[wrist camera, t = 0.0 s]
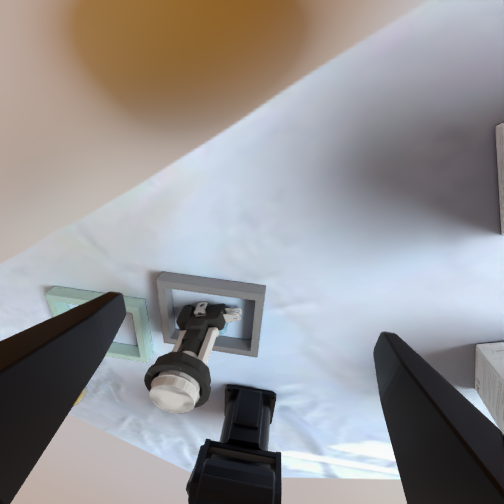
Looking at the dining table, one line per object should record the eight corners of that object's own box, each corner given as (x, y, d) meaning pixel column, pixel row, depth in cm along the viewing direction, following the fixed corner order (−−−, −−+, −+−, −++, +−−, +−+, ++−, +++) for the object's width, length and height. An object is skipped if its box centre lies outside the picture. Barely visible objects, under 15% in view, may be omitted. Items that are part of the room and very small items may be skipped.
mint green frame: (153, 353, 34) (147, 363, 32) (74, 340, 34) (65, 349, 33) (144, 299, 29) (138, 308, 28) (55, 286, 30) (44, 294, 29)
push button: (235, 287, 27) (209, 373, 18) (249, 326, 29) (231, 419, 21) (176, 295, 29) (126, 378, 20) (193, 332, 31) (155, 421, 22)
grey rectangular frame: (258, 346, 31) (257, 357, 29) (169, 332, 31) (163, 342, 30) (265, 285, 26) (264, 295, 25) (162, 271, 27) (156, 280, 26)
